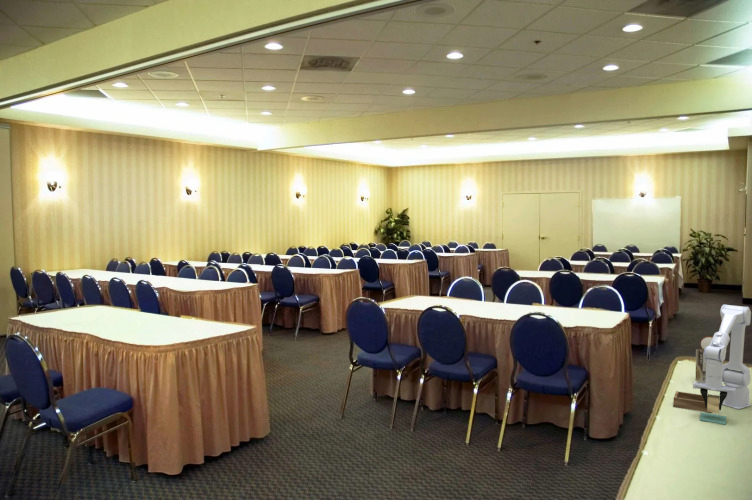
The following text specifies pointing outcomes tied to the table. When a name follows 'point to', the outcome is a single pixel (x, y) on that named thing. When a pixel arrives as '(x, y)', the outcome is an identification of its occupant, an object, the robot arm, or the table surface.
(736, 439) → the table surface
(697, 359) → the coffee box
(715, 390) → the robot arm
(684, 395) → the walnut crate
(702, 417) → the teal mat
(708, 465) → the table surface
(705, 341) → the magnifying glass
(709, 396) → the maple block
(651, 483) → the table surface
